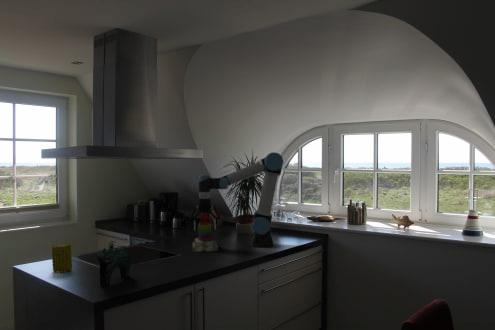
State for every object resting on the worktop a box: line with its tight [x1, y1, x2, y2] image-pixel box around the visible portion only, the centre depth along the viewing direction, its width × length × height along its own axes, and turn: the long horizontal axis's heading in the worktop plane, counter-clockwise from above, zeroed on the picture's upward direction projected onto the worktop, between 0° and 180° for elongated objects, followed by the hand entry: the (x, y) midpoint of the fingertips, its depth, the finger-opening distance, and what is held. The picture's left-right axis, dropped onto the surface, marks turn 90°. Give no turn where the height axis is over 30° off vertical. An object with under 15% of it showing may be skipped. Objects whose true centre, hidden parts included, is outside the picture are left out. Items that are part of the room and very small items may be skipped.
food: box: [51, 243, 73, 273], centre depth 209 cm, size 15×12×10 cm
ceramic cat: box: [97, 240, 131, 287], centre depth 190 cm, size 20×6×20 cm, turn 158°
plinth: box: [192, 237, 219, 253], centre depth 261 cm, size 16×16×6 cm
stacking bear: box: [197, 212, 215, 241], centre depth 261 cm, size 11×10×18 cm
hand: (204, 230), depth 261 cm, fingers open, 13 cm apart
